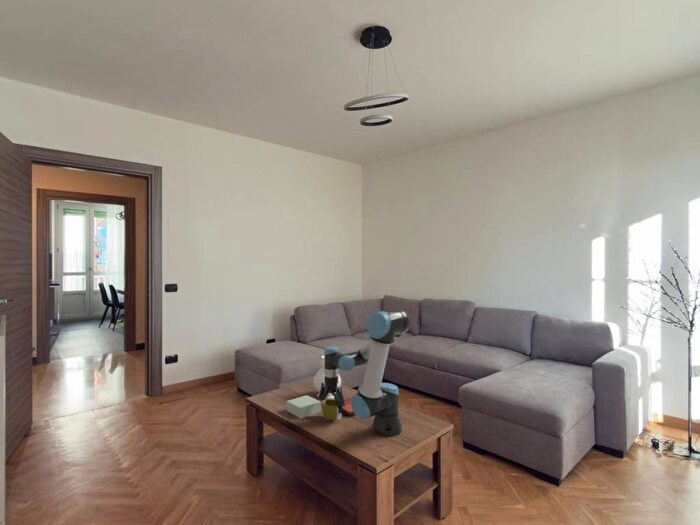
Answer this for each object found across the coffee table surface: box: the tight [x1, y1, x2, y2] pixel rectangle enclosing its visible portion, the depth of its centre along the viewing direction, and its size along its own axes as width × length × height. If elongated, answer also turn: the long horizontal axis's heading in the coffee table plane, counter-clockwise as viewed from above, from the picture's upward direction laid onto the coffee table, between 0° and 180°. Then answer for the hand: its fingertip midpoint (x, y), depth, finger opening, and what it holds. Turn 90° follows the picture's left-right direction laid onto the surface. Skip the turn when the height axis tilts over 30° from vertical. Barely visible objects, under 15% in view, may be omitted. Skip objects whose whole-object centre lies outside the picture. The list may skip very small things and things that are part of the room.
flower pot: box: [321, 399, 340, 422], centre depth 208 cm, size 9×9×9 cm
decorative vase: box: [312, 355, 342, 400], centre depth 243 cm, size 18×18×25 cm
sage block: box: [286, 394, 322, 419], centre depth 219 cm, size 14×14×6 cm
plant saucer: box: [342, 397, 356, 416], centre depth 222 cm, size 18×18×3 cm
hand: (331, 415), depth 208 cm, fingers closed on flower pot, 12 cm apart
